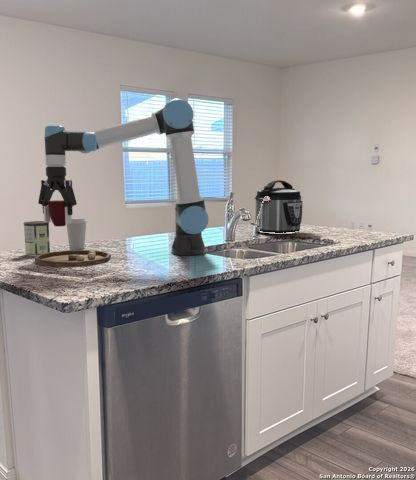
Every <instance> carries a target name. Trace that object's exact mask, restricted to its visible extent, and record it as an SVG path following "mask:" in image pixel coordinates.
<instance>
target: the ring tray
mask: <svg viewBox="0 0 416 480" xmlns="http://www.w3.org/2000/svg"><path fill="white" fill-rule="evenodd" d="M89 251H95V253H96V256H95V259H94V260H89V259H88V253H89ZM78 255H83V256H84V261H78V262H77V260H76V257H77V256H78ZM111 258H112V254H111V253H109V252H106V251H103V250H94V249H93V250H92V249H77V250H70V249H69V250H60V251H59V250H58V251H57V250H56V251H50V252H49V253H44V254H40V255H38V256H34V263H36V264H38V265H40V266H45V267H58V268H59V267H62V268H63V267H64V268H65V267H84V266H92V265H93V266H94V265H99V264H100V265H101V264H103V263H107V262H109V261H110V260H111Z"/></svg>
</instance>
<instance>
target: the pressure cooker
mask: <svg viewBox="0 0 416 480" xmlns="http://www.w3.org/2000/svg"><path fill="white" fill-rule="evenodd" d="M277 183H280V184H281V185H282V186H283V187H275V185H276V184H277ZM293 187H294V186H293V185H292V184H290V183H289V182H287V181H285V180H281V179H279V180H273V181H270V182H269V183H267V184H266V185H264V187H263V189H260V190H257V191H256V195H255V196H254V200H255V216H254V217H255V218H254V219H255V223H256V220H257V216H258V214H259V211H260V208H261V204H263V206H262V210H261V214H260V219H259V227H260V231H263V232H275V233H283V232H284V233H286V232H295V231H299V232H300V230H301V224H302V219H303V218H302V217H303V201H302V195H301V191H299V190H296V189H295V188H293ZM265 196H269V197H270V199H271V202H268V201H264V203H262V201H263V199H264V197H265Z"/></svg>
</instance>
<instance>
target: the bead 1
mask: <svg viewBox="0 0 416 480" xmlns="http://www.w3.org/2000/svg"><path fill="white" fill-rule="evenodd" d="M76 260H77V262H78V261H84V256H83V255H78V256H77V257H76Z"/></svg>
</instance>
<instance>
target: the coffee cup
mask: <svg viewBox="0 0 416 480" xmlns="http://www.w3.org/2000/svg"><path fill="white" fill-rule="evenodd" d="M71 218H72V223H70V224H66V230H67V241H68V249H69V250H85V247H86V244H85V243H86V229H87V223H88V221H87V219H86V218H85V217H83V216H80V217H79V216H78V217H77V216H73V217H72V216H71Z"/></svg>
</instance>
